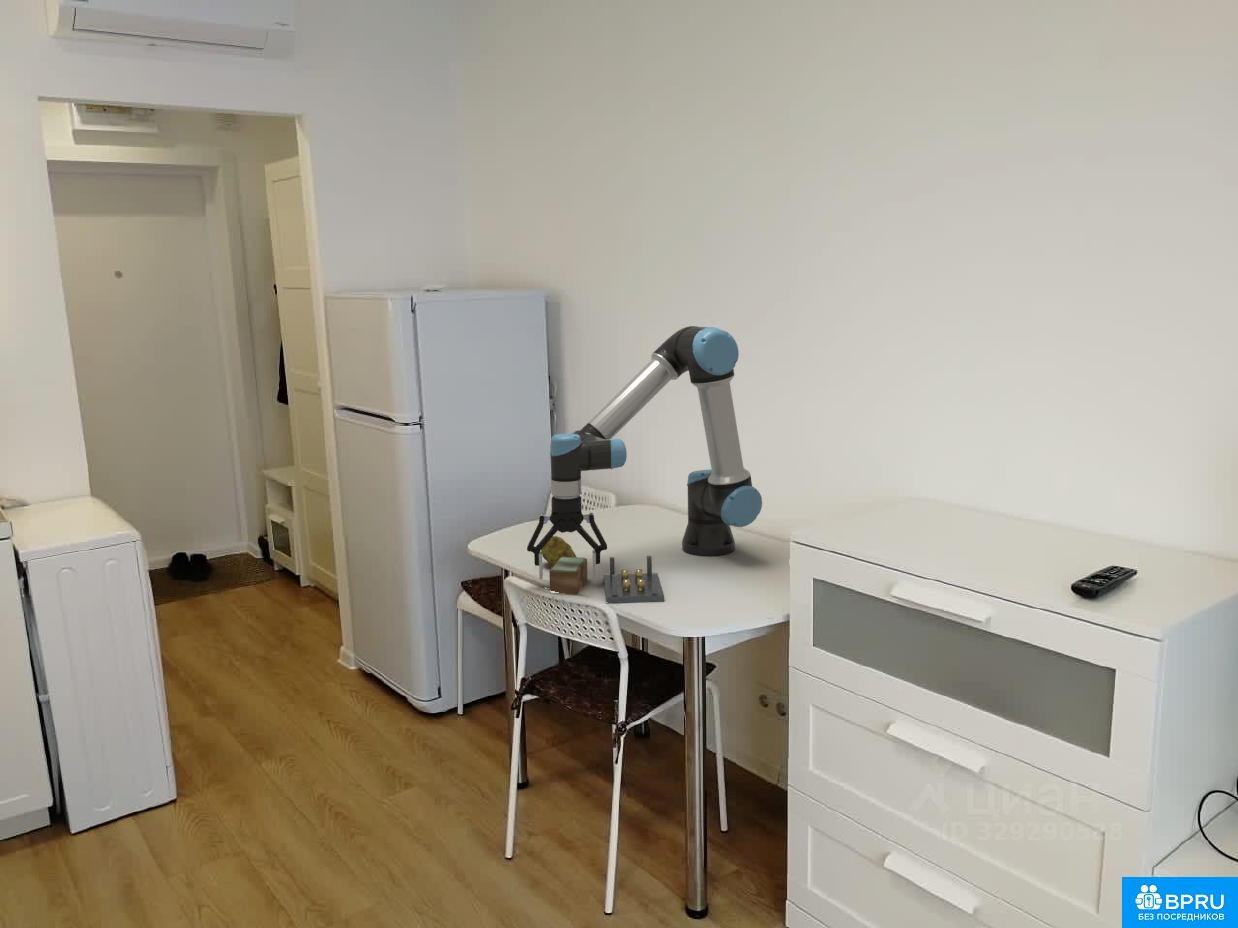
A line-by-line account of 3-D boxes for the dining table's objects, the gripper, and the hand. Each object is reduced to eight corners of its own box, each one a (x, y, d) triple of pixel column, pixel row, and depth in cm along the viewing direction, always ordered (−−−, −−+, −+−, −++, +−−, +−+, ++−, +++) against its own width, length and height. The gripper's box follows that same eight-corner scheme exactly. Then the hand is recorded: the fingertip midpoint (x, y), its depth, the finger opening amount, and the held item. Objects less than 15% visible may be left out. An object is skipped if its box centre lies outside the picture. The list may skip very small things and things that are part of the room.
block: (561, 579, 256) (560, 556, 255) (587, 580, 255) (586, 557, 253) (550, 594, 244) (549, 570, 243) (577, 595, 243) (576, 571, 242)
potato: (549, 576, 258) (548, 546, 257) (539, 562, 270) (538, 534, 269) (579, 572, 261) (578, 543, 259) (568, 559, 273) (567, 532, 271)
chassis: (603, 580, 254) (603, 556, 252) (657, 578, 254) (657, 554, 253) (606, 603, 236) (605, 577, 235) (664, 601, 237) (663, 575, 235)
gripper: (615, 491, 249) (615, 571, 253) (517, 493, 248) (519, 573, 252) (616, 498, 242) (617, 580, 246) (515, 499, 241) (517, 582, 244)
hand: (567, 577), depth 249 cm, fingers open, 13 cm apart
